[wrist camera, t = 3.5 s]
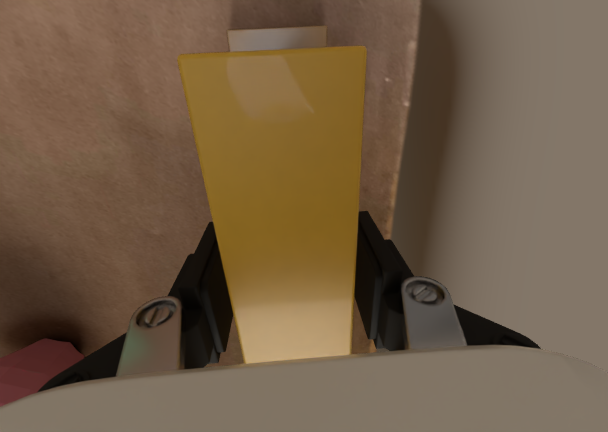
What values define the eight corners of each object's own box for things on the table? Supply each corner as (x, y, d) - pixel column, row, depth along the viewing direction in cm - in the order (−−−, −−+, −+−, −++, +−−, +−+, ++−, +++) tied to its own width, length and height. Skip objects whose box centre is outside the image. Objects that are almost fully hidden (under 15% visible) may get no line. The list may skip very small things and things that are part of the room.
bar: (212, 59, 8) (174, 54, 5) (339, 53, 8) (368, 45, 5) (267, 381, 14) (263, 453, 11) (335, 374, 14) (347, 445, 12)
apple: (58, 393, 27) (-49, 549, 18) (-27, 340, 23) (-215, 505, 15) (139, 359, 26) (64, 511, 17) (62, 297, 22) (-86, 451, 13)
